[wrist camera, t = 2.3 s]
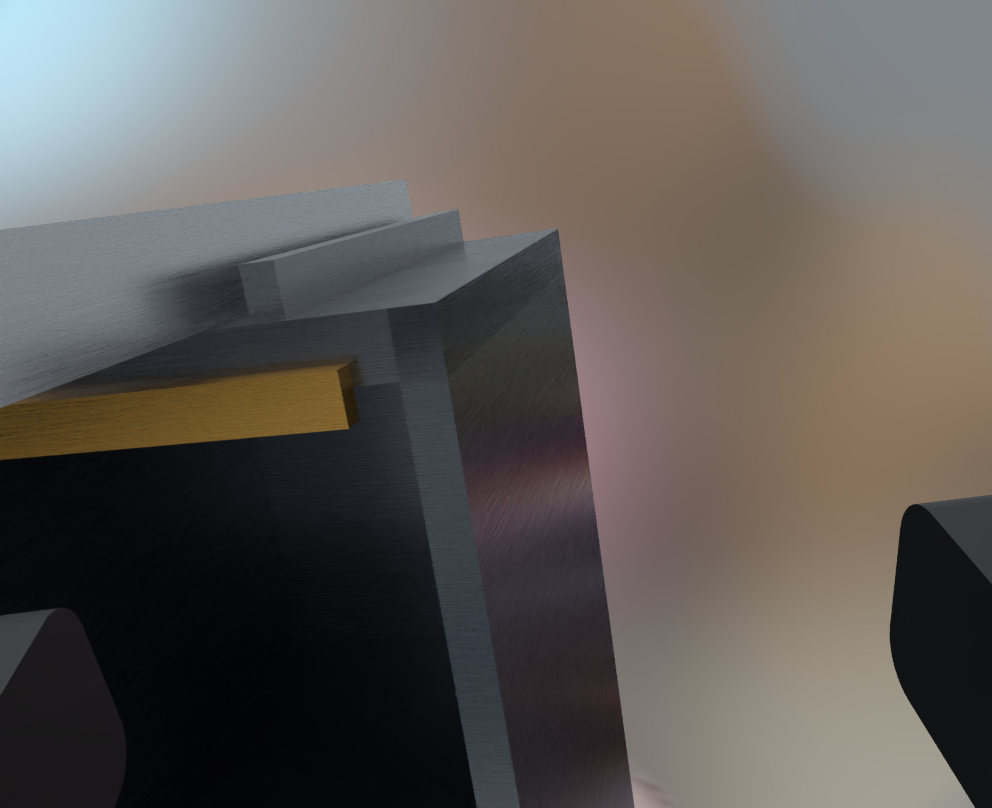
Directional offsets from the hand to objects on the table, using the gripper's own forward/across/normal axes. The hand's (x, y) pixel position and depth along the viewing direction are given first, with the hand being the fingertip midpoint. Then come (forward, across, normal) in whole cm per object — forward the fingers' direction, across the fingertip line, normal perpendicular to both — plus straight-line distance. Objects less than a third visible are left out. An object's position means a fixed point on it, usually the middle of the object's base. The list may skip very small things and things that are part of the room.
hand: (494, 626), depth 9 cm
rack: (+12, +5, +33) cm, 36 cm away
